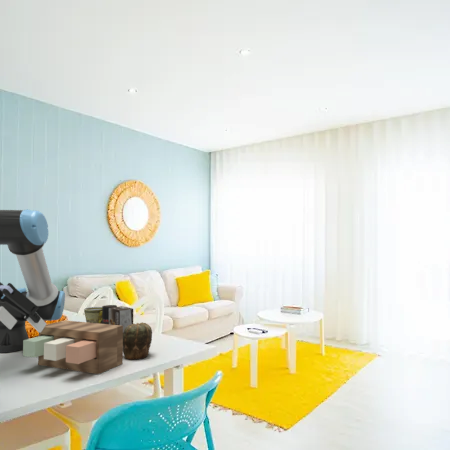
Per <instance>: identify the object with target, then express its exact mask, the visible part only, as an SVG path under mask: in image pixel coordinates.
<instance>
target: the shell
mask: <svg viewBox="0 0 450 450" xmlns="http://www.w3.org/2000/svg"><path fill="white" fill-rule="evenodd" d="M152 338H153V330H152V327H151V326H150V325H149V324H148V323H146V322H136V323H133V324H131V325H129V326H127V327H126V328H125V330H124V333H123V356H124V358H125V359H127V360H131V361H135V360H140V359H141V360H142V359H145V358H146V357H148V356H149V353H150V348H151V344H152V340H153V339H152Z"/></svg>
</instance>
